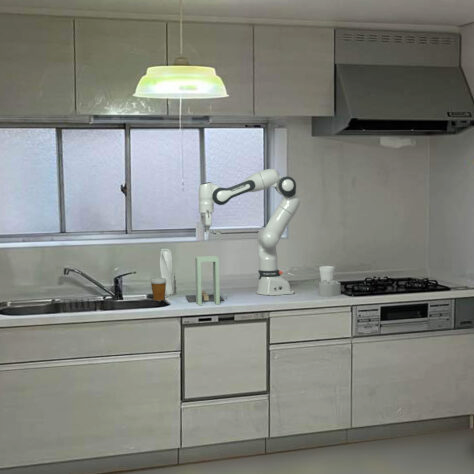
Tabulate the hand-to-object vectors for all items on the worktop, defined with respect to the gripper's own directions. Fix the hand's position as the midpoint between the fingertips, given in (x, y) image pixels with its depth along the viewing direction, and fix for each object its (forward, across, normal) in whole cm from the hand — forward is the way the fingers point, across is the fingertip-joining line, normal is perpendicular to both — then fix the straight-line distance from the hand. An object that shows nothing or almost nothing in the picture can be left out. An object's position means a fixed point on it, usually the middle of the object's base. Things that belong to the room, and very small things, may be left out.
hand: (206, 232), depth 432 cm
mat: (+37, -15, +4) cm, 40 cm away
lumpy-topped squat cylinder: (+38, -21, -69) cm, 81 cm away
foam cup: (+37, +6, -76) cm, 85 cm away
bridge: (+37, -32, +4) cm, 49 cm away
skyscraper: (+37, +4, +24) cm, 45 cm away
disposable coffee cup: (+37, -12, +30) cm, 49 cm away
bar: (+36, -15, +4) cm, 40 cm away
